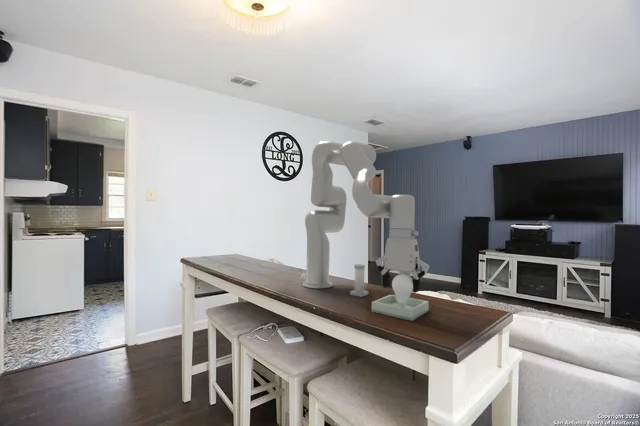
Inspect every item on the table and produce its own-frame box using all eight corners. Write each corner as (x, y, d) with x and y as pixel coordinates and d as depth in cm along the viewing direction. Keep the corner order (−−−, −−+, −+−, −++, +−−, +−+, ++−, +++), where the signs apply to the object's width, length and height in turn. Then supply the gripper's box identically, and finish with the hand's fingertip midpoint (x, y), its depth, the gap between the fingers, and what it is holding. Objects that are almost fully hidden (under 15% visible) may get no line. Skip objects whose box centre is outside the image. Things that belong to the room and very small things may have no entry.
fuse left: (349, 294, 120) (350, 265, 120) (357, 292, 124) (357, 263, 124) (361, 296, 117) (362, 266, 117) (368, 294, 120) (368, 265, 121)
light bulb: (388, 311, 96) (391, 275, 95) (391, 303, 102) (394, 270, 101) (411, 315, 94) (414, 279, 93) (412, 307, 100) (415, 273, 99)
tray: (371, 311, 98) (371, 301, 98) (390, 303, 108) (390, 294, 108) (412, 321, 90) (412, 310, 90) (428, 310, 100) (428, 301, 100)
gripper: (433, 235, 97) (432, 291, 97) (382, 232, 108) (381, 283, 108) (424, 236, 91) (423, 296, 91) (371, 233, 102) (370, 287, 102)
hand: (400, 289), depth 99 cm, fingers open, 9 cm apart
